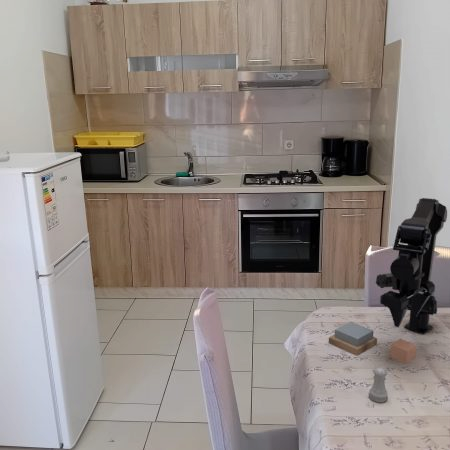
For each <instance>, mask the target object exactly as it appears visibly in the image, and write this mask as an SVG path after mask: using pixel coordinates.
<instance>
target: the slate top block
mask: <svg viewBox="0 0 450 450" xmlns="http://www.w3.org/2000/svg"><path fill="white" fill-rule="evenodd" d="M374 332H375V331H374V330H373V329H370V328H369V327H365V326H364V325H361V324H358V323H355V322H353V321H349V322H347V323H345V324H343V325H340V326H339V327H337V328H335V329H334V334H335V337H336V338H338V339H340V340H342V341H345V342H347V343H349V344H352V345H354V346H356V347H358V346H360V345H362V344H364V343H365V342H367V341H369V340H371V339H373V337H374Z"/></svg>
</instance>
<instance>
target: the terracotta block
mask: <svg viewBox="0 0 450 450" xmlns="http://www.w3.org/2000/svg"><path fill="white" fill-rule="evenodd" d="M417 348H418V346H417V344H415V343H412V342H409V341H407V340H405V339H402V338H399V339H398V340H396V341H394V342H393V343H391V344H390V351H389V352H390V353H389V354H390V355H389V357H390V358H391V359H395V360H396V361H399V362H401V363H403V364H408V363H410V362H411V361H413V360H414V359H416V358H417Z"/></svg>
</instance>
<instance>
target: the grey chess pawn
mask: <svg viewBox="0 0 450 450" xmlns="http://www.w3.org/2000/svg"><path fill="white" fill-rule="evenodd" d="M372 372H373V374H374V375H373V379H374V381H373V385H372V386H371V388H369V393H368V396H369V398H370V400H371V401H373V402H375V403H381V404H383V403H385V402H387V400H388V398H389V397H388V396H389V392H388V391H387V389H386V385H385V384H386V383H385V381H386V379H387V378H386V377H385V376H387V375H388V372H387V369H386V368H385V367H384V366H380V365H377V366H375V367H374V369H373V370H372Z"/></svg>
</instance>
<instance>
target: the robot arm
mask: <svg viewBox="0 0 450 450" xmlns="http://www.w3.org/2000/svg"><path fill="white" fill-rule="evenodd" d="M439 201H440V200H439V199H436V198H428V197H427V198H426V197H422V198H419V199H418V203H417V204H416V206H415V209H414V210H415V211H414V213H413V214H412V215H411V218H405V219H404V220H403V221H402V222H401V224H400V225H398V227H397V231H396V234H395V239H394V244H393V248H392V250H393V251H398V255H397V257H396V258H395V259H394V260H393V261H392V262H391V264H390V269H389V271H390V273H383V274H381V273H380V274H378V275H376V278H375V284H376V286H378V287H379V288H380V289H384V288H391V289H392V290H394V291H392V290H388V291H387V292H385V293H383V294H381V295H380V296H379V303H380V305H383V306H385V307H387V308H388V309H389V311H390V315H391V318H392V320H393V324H394V327H396V328H399V327H400V325H401V323H402V322H403V319H404V318H405V315H406V312H407V311H410V312H409V320H408V321H409V322H408V323H406V324H405V325H404V327H403V328H404V329H408V330H410V331H413V332H417V333H418V334H419V333H420V334H422V335H424V334H426V333H428V332H429V331H430V330H432V329H433V328H434V327H433V326H432V325H431V324H429V322H430V316H434V315H436V314H438V301H437V297H436V296H435V289H436V285H435V284H434V282H433V281H431V278H432V277H431V276H432V270H433V262H434V255H435V249H436V240H437V235H438V234H439V233H440V232H441V230H442V229H443V228H444V224H445V223H446V222H447V218H448V209H447V206H445V205H443V204H442V203H440V202H439ZM396 291H398V292H396Z"/></svg>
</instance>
